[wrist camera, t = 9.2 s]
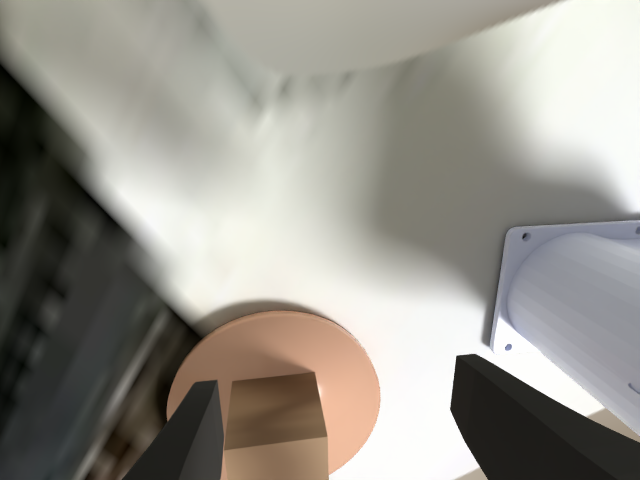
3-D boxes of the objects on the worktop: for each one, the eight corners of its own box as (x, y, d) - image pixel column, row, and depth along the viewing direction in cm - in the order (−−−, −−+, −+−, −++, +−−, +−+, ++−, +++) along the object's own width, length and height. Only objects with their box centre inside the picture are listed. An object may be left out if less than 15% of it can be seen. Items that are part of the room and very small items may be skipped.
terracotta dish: (379, 300, 21) (384, 309, 20) (372, 463, 25) (376, 477, 24) (156, 317, 20) (150, 328, 19) (184, 488, 23) (181, 504, 22)
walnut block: (314, 371, 21) (327, 436, 17) (316, 435, 22) (329, 510, 18) (232, 380, 20) (223, 450, 16) (239, 445, 22) (233, 525, 17)
